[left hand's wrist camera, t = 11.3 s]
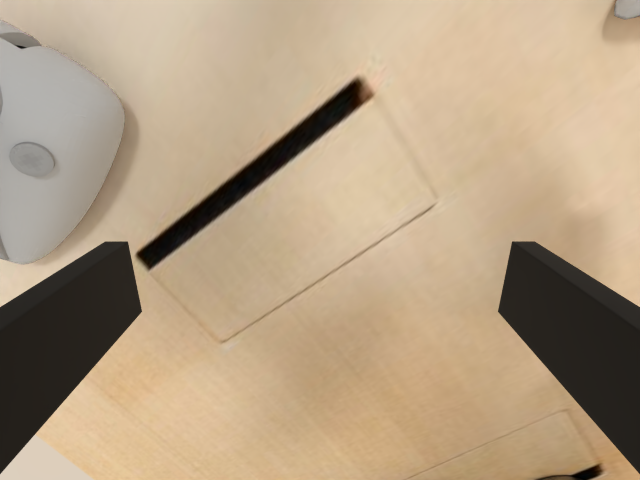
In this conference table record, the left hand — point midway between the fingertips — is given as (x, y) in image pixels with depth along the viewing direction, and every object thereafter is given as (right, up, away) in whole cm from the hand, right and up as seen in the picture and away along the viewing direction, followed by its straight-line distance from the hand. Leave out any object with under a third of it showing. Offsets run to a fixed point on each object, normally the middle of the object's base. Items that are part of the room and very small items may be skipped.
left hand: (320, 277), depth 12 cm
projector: (-29, +10, +25) cm, 40 cm away
